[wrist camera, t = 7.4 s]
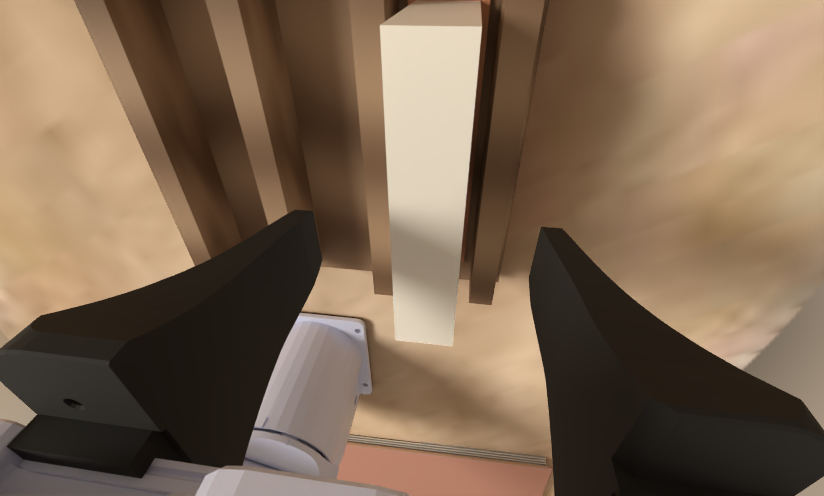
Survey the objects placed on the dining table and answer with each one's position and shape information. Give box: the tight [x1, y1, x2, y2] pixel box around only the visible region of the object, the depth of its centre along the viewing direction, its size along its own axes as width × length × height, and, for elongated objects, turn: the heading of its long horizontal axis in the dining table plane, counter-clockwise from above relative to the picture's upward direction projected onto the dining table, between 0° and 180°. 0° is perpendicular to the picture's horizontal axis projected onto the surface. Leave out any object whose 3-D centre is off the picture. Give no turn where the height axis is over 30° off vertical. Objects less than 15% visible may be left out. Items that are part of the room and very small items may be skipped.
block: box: [380, 0, 482, 346], centre depth 16 cm, size 12×2×7 cm, turn 0°
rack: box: [74, 0, 549, 305], centre depth 18 cm, size 17×18×4 cm
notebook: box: [337, 435, 553, 496], centre depth 44 cm, size 27×17×2 cm, turn 93°
